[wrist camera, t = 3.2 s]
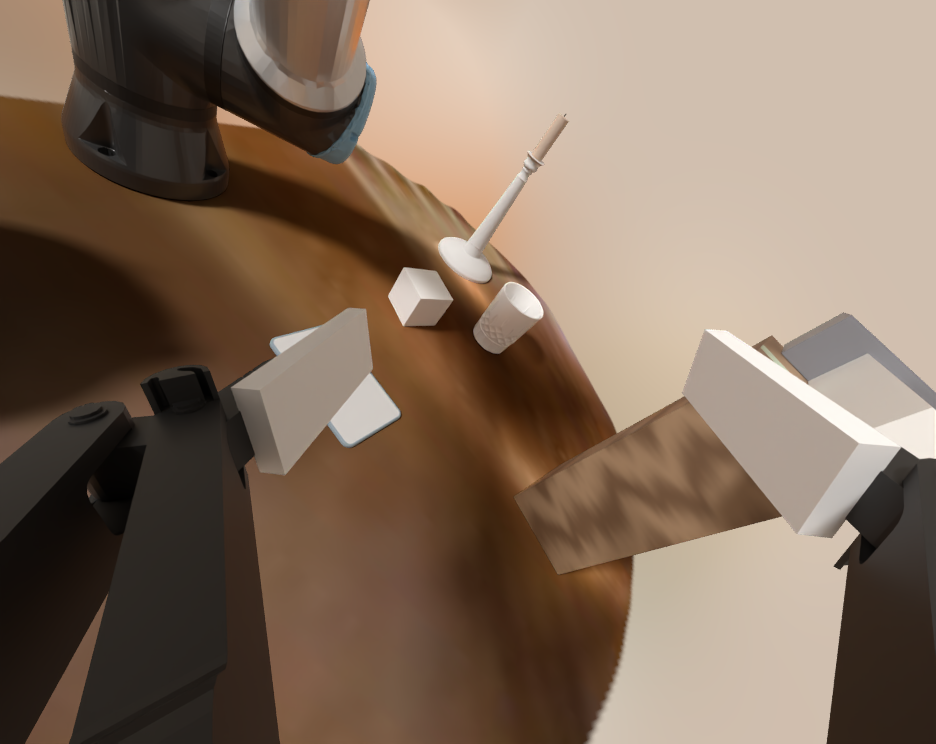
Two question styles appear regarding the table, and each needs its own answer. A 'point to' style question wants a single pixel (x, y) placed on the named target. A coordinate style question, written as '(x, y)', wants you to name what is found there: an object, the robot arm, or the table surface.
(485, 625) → the table surface
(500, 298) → the white cup
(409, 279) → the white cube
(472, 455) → the table surface
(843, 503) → the robot arm
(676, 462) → the tall stand
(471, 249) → the candlestick
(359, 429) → the smartphone
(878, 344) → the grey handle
